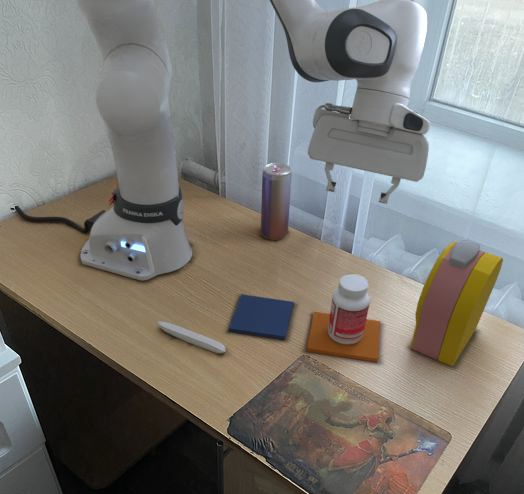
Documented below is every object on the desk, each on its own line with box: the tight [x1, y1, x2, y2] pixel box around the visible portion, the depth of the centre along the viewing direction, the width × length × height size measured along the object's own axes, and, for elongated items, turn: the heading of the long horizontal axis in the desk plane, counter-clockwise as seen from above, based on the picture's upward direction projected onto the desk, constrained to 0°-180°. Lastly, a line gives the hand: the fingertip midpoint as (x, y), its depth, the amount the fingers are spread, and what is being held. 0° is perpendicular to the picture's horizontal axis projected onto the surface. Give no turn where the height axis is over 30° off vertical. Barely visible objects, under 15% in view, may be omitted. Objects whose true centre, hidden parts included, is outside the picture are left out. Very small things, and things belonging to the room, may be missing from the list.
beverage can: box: [260, 162, 293, 241], centre depth 113 cm, size 6×6×15 cm
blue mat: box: [228, 294, 295, 341], centre depth 97 cm, size 10×10×1 cm
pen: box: [155, 321, 227, 354], centre depth 91 cm, size 2×14×2 cm, turn 63°
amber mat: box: [305, 311, 381, 363], centre depth 93 cm, size 12×10×1 cm
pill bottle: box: [328, 273, 371, 344], centre depth 89 cm, size 6×6×11 cm
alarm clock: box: [410, 239, 504, 367], centre depth 88 cm, size 15×8×18 cm, turn 145°
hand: (356, 197), depth 94 cm, fingers open, 8 cm apart
